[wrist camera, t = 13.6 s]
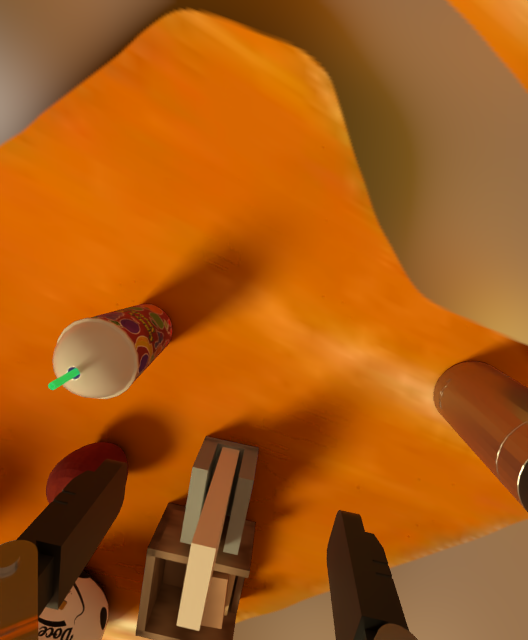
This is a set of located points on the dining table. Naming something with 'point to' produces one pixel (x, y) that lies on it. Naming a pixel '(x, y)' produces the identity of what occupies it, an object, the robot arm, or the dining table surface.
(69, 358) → the smoothie
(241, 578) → the box
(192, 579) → the cream rectangular board
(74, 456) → the apple
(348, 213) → the dining table surface
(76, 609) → the milk container
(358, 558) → the robot arm
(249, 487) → the holder
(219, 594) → the offcut small
